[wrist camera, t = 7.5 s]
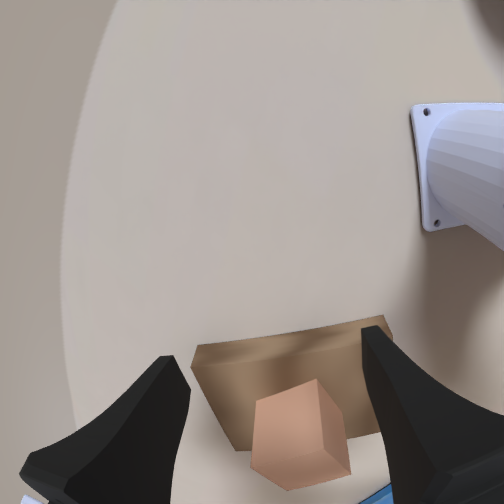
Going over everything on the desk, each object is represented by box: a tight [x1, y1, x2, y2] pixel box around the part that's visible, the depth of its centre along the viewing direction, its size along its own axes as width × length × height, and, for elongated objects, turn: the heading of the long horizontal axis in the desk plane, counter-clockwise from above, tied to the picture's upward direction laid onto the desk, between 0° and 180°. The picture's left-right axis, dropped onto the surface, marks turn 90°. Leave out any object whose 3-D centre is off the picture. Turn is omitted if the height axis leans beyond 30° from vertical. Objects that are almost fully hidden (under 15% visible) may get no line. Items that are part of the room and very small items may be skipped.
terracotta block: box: [251, 379, 351, 491], centre depth 19 cm, size 5×5×6 cm
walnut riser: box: [191, 315, 393, 451], centre depth 23 cm, size 14×12×2 cm
